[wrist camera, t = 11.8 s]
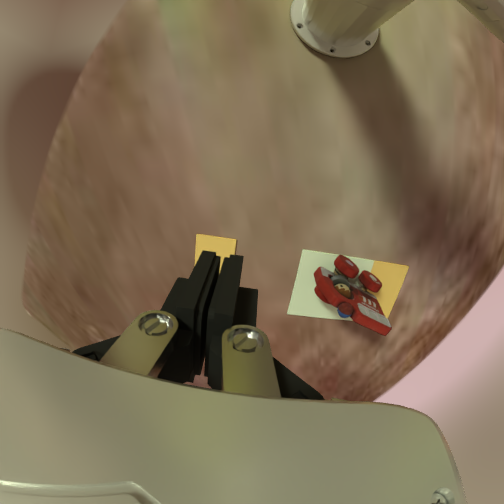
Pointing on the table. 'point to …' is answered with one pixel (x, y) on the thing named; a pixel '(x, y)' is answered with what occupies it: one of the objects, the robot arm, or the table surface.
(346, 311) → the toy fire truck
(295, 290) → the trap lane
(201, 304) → the robot arm
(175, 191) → the table surface
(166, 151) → the table surface
